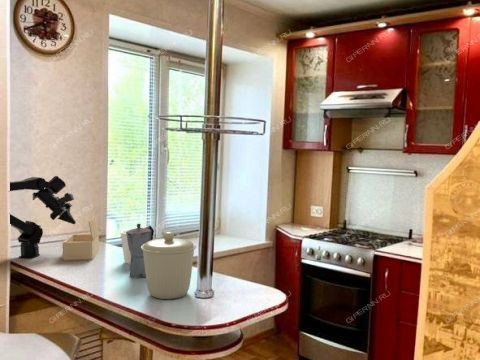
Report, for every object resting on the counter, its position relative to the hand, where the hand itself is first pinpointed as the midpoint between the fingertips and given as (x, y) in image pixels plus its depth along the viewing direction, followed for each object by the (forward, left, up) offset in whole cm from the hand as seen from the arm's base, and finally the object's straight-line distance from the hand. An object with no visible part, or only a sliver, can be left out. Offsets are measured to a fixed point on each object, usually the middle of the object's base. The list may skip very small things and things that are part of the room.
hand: (75, 223), depth 209 cm
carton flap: (+10, -3, -1) cm, 11 cm away
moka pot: (+42, -31, -14) cm, 54 cm away
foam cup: (+32, -13, -14) cm, 37 cm away
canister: (+59, -53, -14) cm, 80 cm away
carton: (+6, -5, -14) cm, 15 cm away
